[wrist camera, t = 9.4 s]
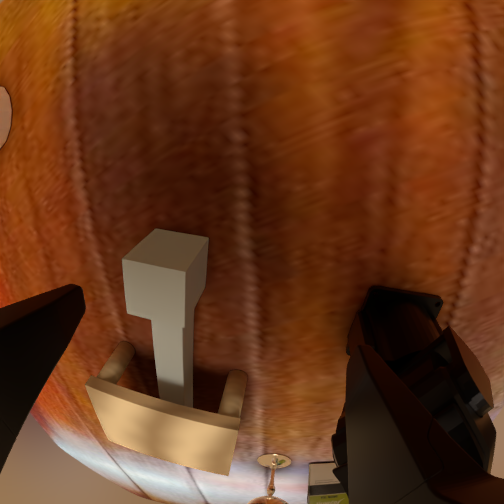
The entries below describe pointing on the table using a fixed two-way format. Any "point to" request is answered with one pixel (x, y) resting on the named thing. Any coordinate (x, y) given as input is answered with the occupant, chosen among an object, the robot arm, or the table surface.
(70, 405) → the table surface
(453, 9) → the table surface
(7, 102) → the white cup
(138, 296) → the gray hammer
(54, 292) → the robot arm
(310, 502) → the tea box
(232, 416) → the hinoki shelf
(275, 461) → the wineglass
